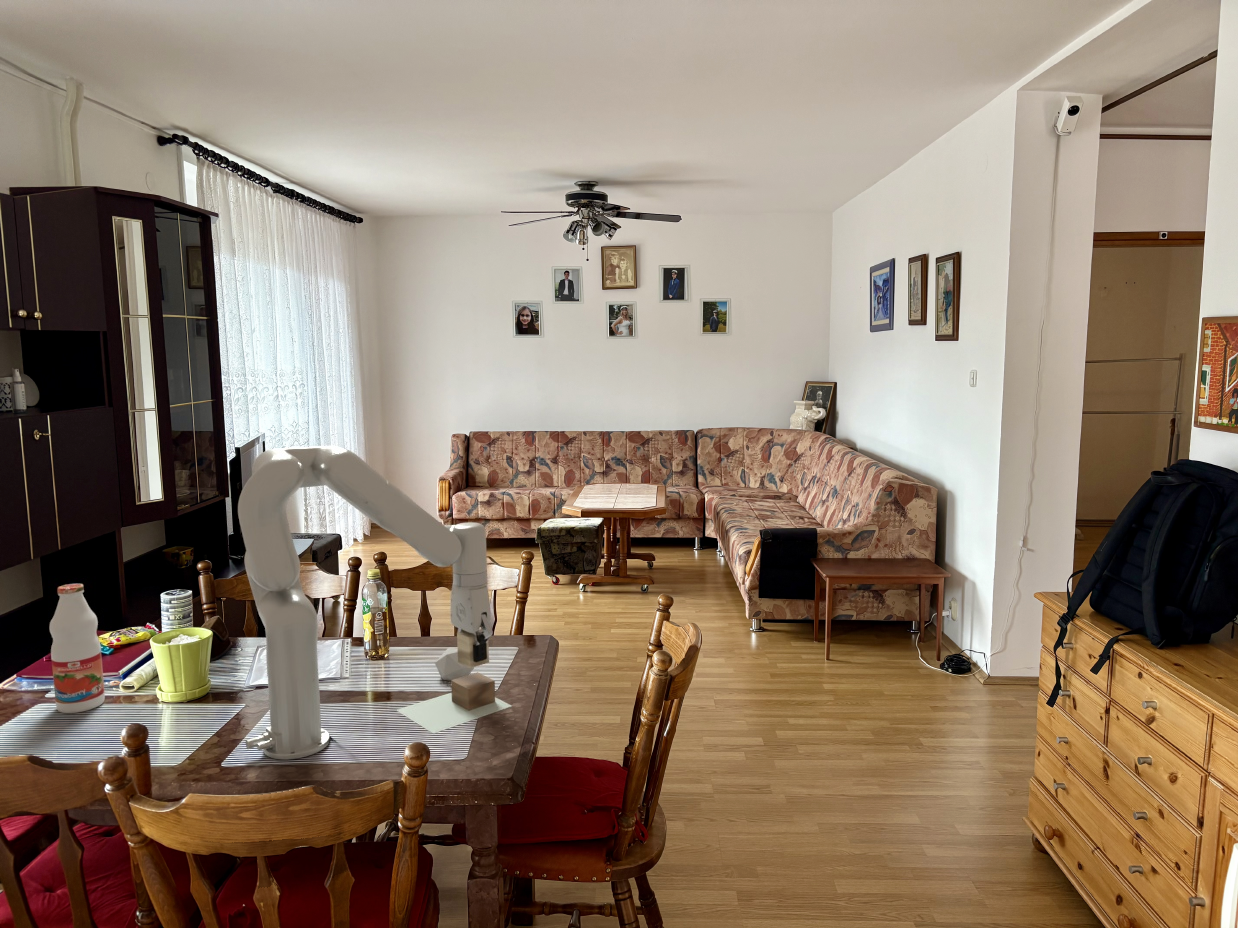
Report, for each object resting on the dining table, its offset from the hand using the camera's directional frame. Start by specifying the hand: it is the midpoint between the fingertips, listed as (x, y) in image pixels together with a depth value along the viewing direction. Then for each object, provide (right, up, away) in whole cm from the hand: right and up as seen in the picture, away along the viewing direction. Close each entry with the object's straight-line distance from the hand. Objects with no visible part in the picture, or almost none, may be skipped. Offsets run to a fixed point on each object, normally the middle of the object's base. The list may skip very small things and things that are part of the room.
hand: (473, 656), depth 186 cm
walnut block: (0, -11, +1) cm, 11 cm away
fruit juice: (-90, -12, +3) cm, 91 cm away
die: (-7, -10, +16) cm, 21 cm away
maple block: (0, -1, 0) cm, 1 cm away
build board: (-4, -12, -2) cm, 13 cm away
